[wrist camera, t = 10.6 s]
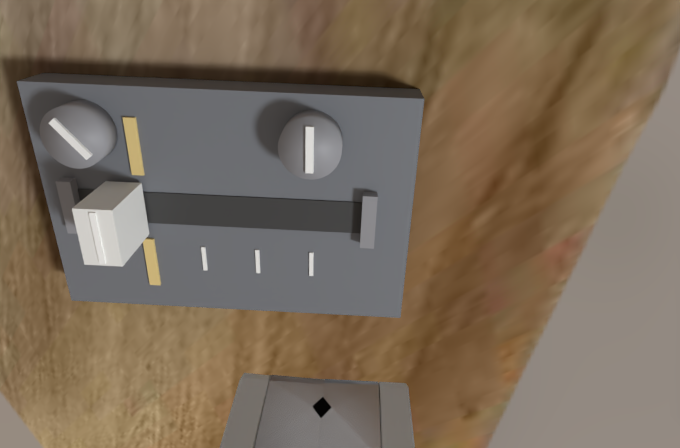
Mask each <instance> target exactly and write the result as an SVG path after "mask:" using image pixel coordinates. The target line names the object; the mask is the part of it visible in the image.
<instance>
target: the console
mask: <svg viewBox="0 0 680 448" xmlns="http://www.w3.org/2000/svg"><path fill="white" fill-rule="evenodd" d="M17 85H18V89H19V93H20V97H21V101H22V105H23V109H24V113H25V116H26V120H27V124H28V128H29V132H30V136H31V140H32V144H33V148H34V152H35V156H36V160H37V164H38V168H39V172H40V176H41V180H42V184H43V188H44V192H45V196H46V200H47V204H48V208H49V212H50V216H51V220H52V224H53V228H54V232H55V236H56V240H57V244H58V248H59V252H60V256H61V260H62V264H63V268H64V272H65V276H66V280H67V284H68V288H69V292H70V296H71V300H74V301H93V302H112V303H131V304H150V305H169V306H188V307H207V308H225V309H244V310H263V311H282V312H301V313H320V314H339V315H358V316H377V317H396V318H400V315H401V306H402V297H403V288H404V279H405V270H406V261H407V252H408V243H409V233H410V224H411V215H412V206H413V197H414V188H415V179H416V170H417V160H418V151H419V142H420V133H421V124H422V115H423V106H424V97H423V95H422V93H421V91H420V89H405V88H382V87H359V86H336V85H313V84H290V83H266V82H243V81H220V80H197V79H174V78H151V77H128V76H105V75H82V74H59V73H41V74H38V75H35V76H32V77H28V78H25V79H22V80H19V81H17ZM105 181H114V182H135V183H142V189H143V196H144V202H145V209H146V215H147V221H148V228H149V235H148V237H147V238H146V239H145V240H144V241H143V243H142V244H141V245H140V246H139V247H138V249H137V250H136V251H135V252H134V254H133V255H132V256H131V257H130V258H129V260H128V261H127V262H126V263H125V265H124V266H123V267H121V266H101V265H84V260H83V256H82V252H81V247H80V243H79V238H78V234H77V230H76V225H75V221H74V216H73V212H72V208H73V207H74V206H75V205H77V204H78V203H79V202H80V201H82V200H83V199H84V198H85V197H87V196H88V195H89V194H90V193H91V192H93V191H94V190H95V189H96V188H98V187H99V186H100V185H101V184H103V183H104V182H105Z"/></svg>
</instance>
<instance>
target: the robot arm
mask: <svg viewBox="0 0 680 448" xmlns="http://www.w3.org/2000/svg"><path fill="white" fill-rule="evenodd" d="M220 448H415V446H414V437H413V427H412V418H411V408H410V399H409V389H408V386H407V385H406V383H390V382H379V383H378V382H371V381H352V380H333V379H325V380H324V379H312V378H301V377H289V376H278V375H260V374H249V373H244V374H243V376H242V377H241V379H240V381H239V384H238V388H237V391H236V395H235V398H234V401H233V405H232V408H231V411H230V415H229V418H228V421H227V425H226V428H225V432H224V435H223V438H222V442H221V445H220Z"/></svg>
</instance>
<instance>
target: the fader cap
mask: <svg viewBox="0 0 680 448" xmlns="http://www.w3.org/2000/svg"><path fill="white" fill-rule="evenodd" d="M72 212H73V216H74V221H75V225H76V230H77V234H78V238H79V243H80V247H81V252H82V256H83V260H84V265H101V266H121V267H123V266H124V265H125V263H126V262H127V261H128V260H129V258H130V257H131V256H132V255H133V254H134V252H135V251H136V250H137V249H138V247H139V246H140V245H141V244H142V243H143V241H144V240H145V239H146V238H147V237H148V235H149V228H148V221H147V215H146V209H145V202H144V196H143V189H142V183H135V182H114V181H105V182H104V183H103V184H101V185H100V186H99V187H98V188H96V189H95V190H94V191H93V192H91V193H90V194H89V195H88V196H87V197H85V198H84V199H83V200H82V201H80V202H79V203H78V204H77V205H75V206H74V207H73V208H72Z"/></svg>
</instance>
